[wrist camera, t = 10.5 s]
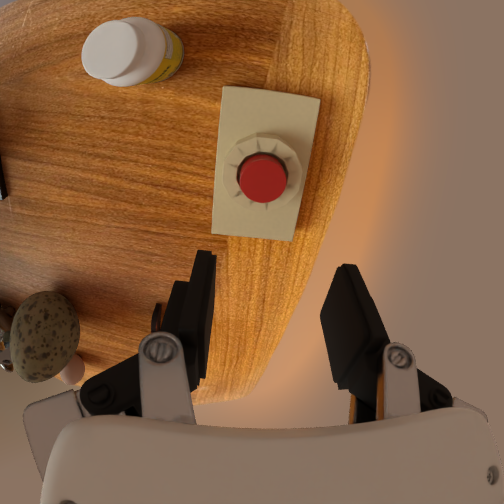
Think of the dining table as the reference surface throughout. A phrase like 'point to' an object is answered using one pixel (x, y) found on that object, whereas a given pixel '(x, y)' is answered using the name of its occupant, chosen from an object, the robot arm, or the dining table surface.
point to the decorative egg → (43, 336)
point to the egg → (73, 371)
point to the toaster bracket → (2, 184)
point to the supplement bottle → (132, 52)
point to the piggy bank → (6, 337)
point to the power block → (262, 142)
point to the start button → (262, 178)
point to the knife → (156, 319)
